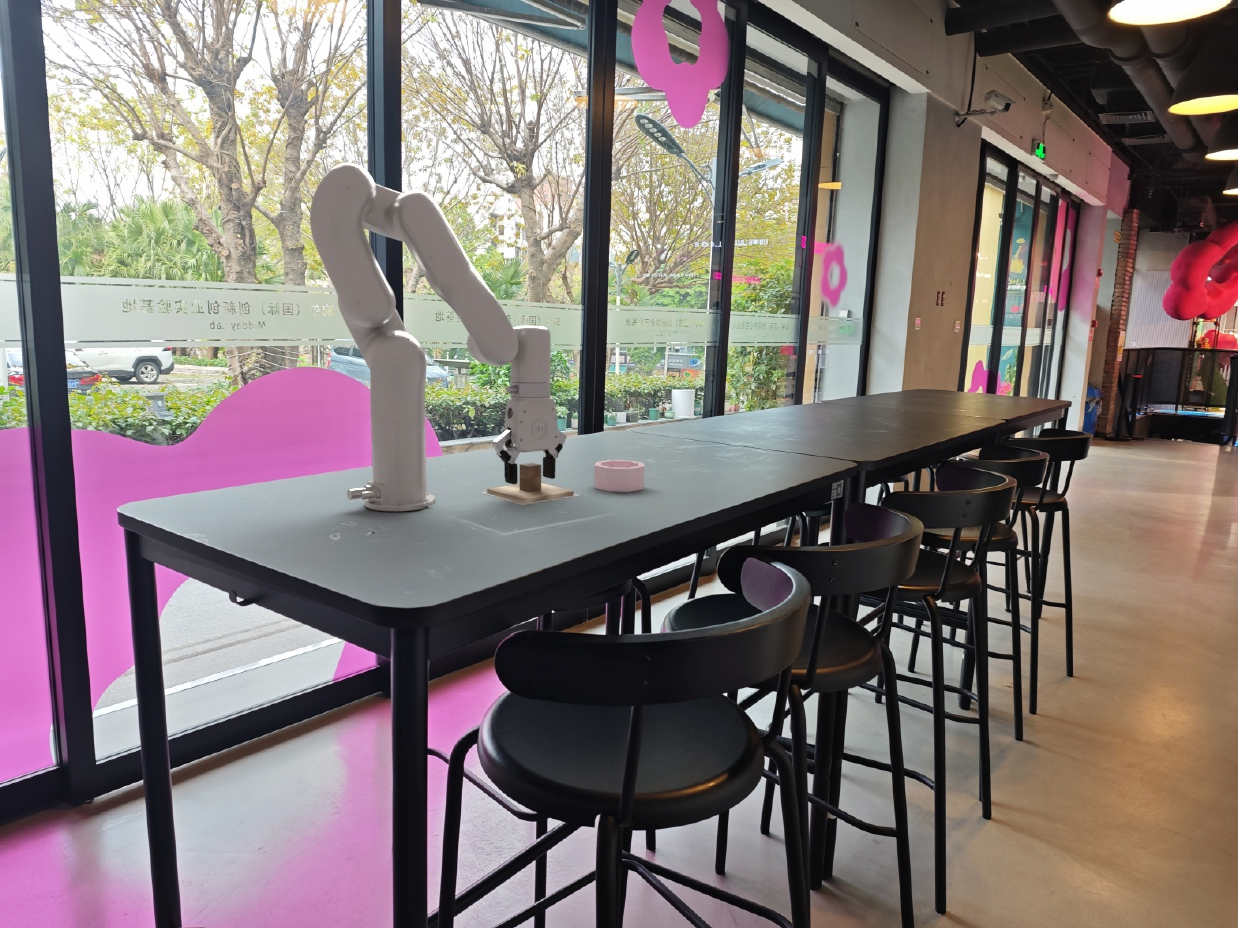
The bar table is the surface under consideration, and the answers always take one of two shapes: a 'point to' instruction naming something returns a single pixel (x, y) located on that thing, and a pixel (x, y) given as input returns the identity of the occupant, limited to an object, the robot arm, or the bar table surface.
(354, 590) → the bar table surface
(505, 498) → the mat
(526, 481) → the lid
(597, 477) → the bowl
